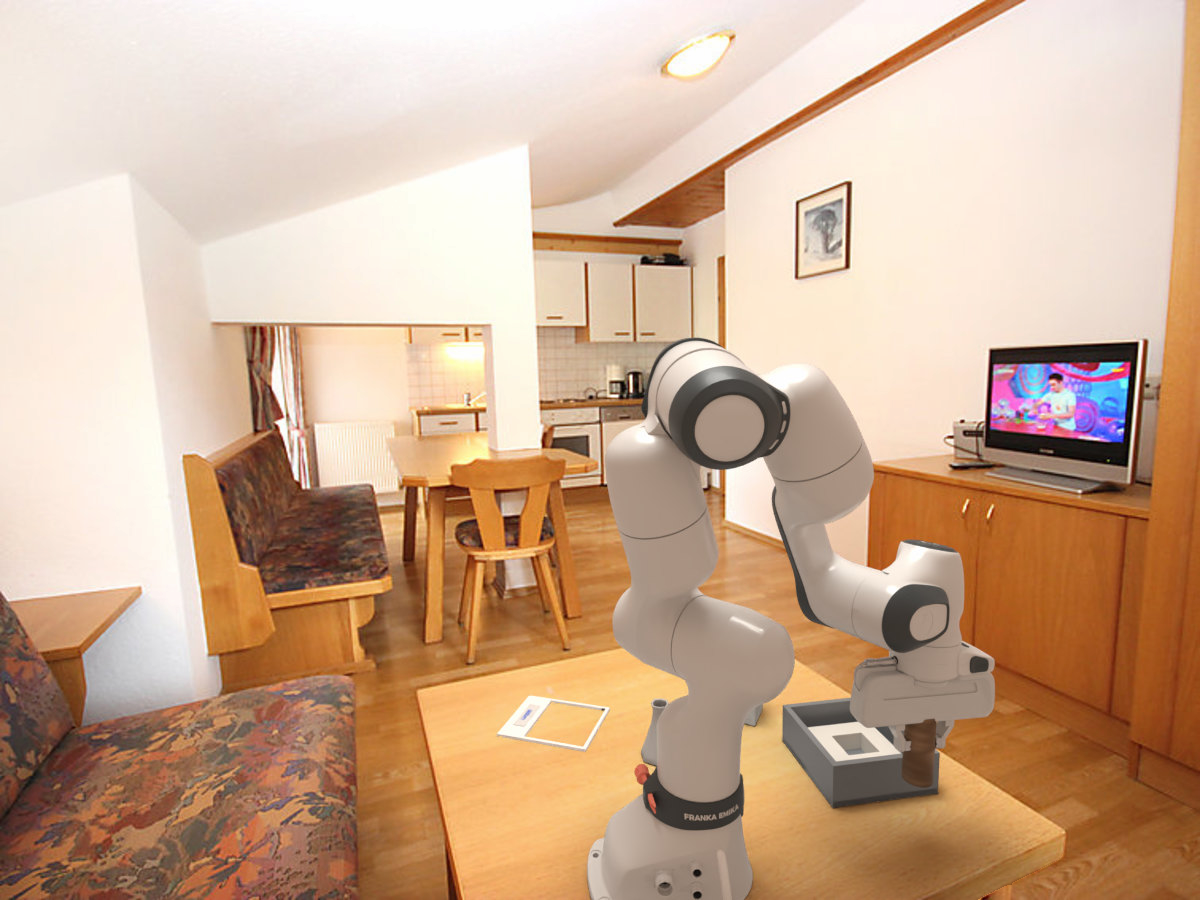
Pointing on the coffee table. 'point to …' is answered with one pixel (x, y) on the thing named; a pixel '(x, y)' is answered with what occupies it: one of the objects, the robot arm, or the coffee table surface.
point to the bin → (847, 754)
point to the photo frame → (532, 712)
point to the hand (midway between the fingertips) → (919, 748)
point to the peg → (920, 753)
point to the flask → (653, 732)
